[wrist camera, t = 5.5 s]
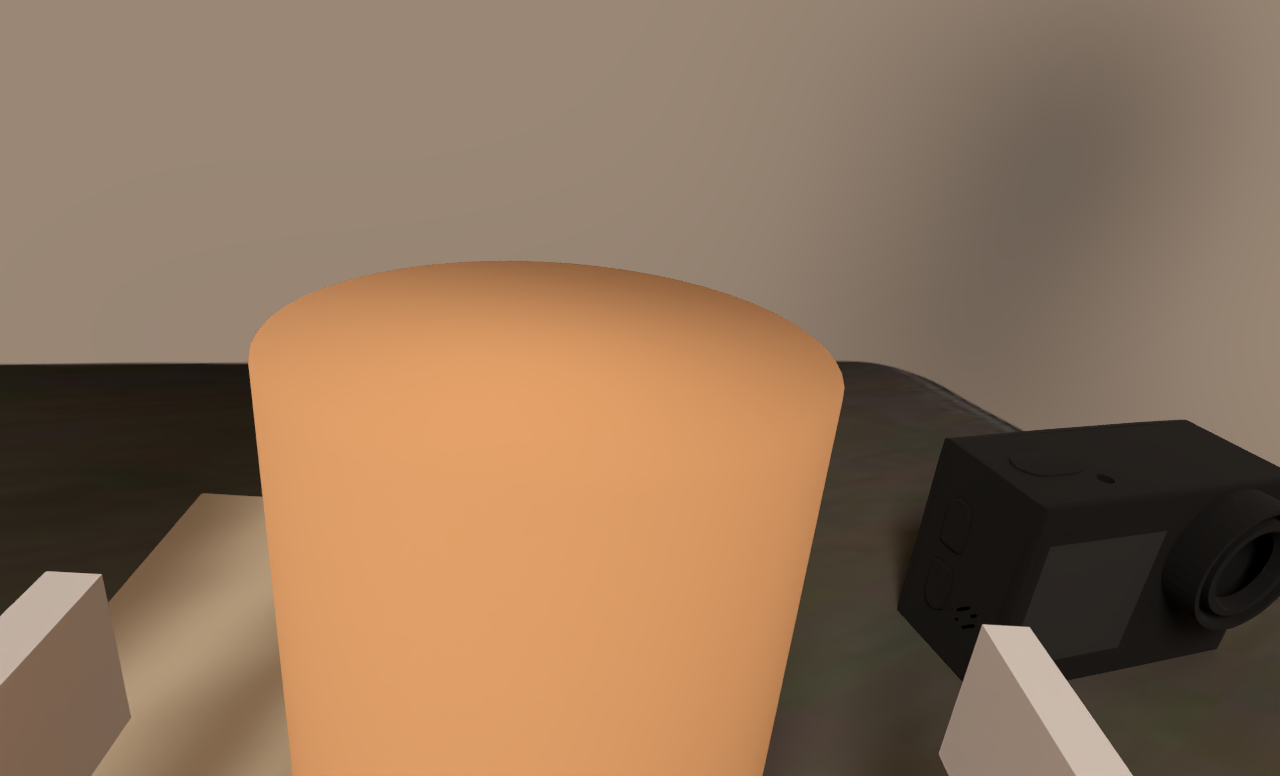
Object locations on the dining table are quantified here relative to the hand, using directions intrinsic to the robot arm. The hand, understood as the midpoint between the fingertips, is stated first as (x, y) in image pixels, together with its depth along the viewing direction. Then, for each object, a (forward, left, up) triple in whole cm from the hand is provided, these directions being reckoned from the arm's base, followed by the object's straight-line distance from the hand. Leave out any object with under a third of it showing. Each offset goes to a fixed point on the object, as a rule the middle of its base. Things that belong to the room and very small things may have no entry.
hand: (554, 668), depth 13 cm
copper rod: (0, -3, -9) cm, 9 cm away
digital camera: (+17, +12, -9) cm, 23 cm away
